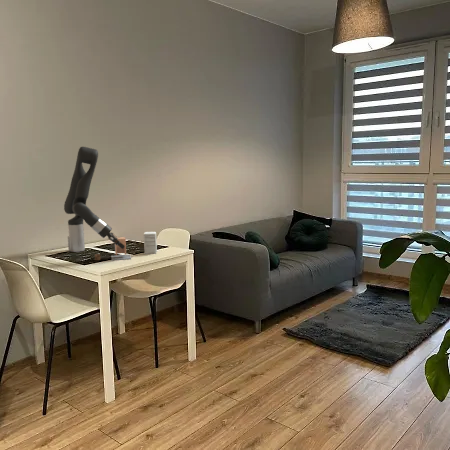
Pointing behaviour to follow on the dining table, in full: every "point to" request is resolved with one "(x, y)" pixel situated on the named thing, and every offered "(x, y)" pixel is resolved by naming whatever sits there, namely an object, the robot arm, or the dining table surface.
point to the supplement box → (150, 243)
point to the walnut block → (97, 257)
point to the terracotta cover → (117, 248)
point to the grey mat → (120, 257)
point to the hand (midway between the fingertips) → (123, 246)
